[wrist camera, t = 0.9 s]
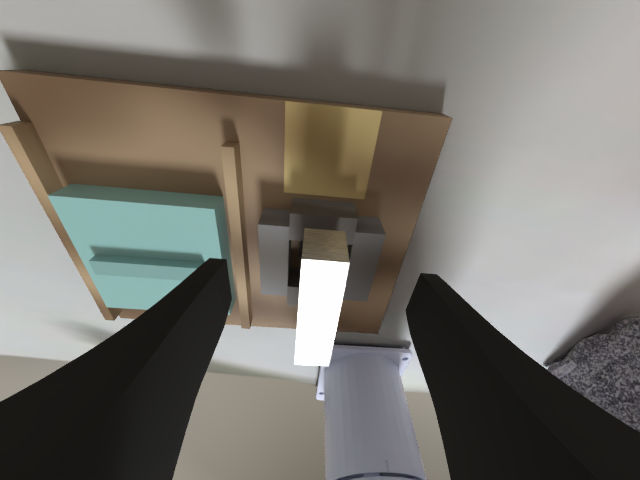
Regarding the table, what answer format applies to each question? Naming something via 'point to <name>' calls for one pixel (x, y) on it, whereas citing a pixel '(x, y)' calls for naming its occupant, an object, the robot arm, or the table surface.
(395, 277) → the board
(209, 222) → the cover
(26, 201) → the table surface
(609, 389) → the rock
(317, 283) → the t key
